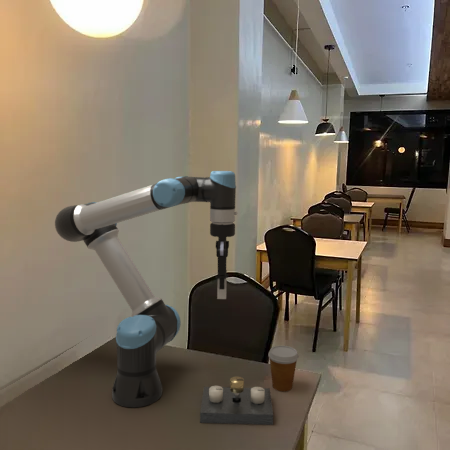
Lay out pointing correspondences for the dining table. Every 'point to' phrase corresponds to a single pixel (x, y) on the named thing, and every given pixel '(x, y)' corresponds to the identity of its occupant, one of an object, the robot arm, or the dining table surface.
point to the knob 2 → (257, 395)
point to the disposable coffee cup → (283, 367)
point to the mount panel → (236, 408)
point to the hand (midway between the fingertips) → (221, 298)
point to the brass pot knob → (236, 386)
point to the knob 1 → (215, 394)
